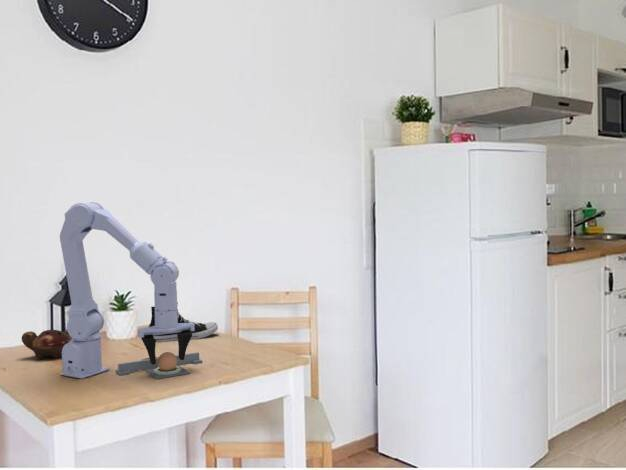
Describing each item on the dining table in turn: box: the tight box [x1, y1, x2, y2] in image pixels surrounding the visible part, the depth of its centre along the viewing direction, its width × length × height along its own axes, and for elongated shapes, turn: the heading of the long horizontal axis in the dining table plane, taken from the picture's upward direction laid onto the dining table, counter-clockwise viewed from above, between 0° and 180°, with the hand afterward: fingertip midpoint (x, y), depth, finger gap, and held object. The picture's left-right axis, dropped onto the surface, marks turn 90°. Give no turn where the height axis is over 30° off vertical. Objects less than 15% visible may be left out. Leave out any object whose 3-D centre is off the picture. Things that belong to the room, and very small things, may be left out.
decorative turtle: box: [21, 329, 72, 361], centre depth 188 cm, size 10×15×8 cm, turn 115°
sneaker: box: [148, 301, 219, 343], centre depth 211 cm, size 8×22×12 cm, turn 105°
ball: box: [157, 351, 177, 372], centre depth 171 cm, size 5×5×5 cm
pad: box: [144, 365, 191, 380], centre depth 171 cm, size 9×9×1 cm
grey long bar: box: [115, 351, 203, 376], centre depth 176 cm, size 22×4×2 cm, turn 122°
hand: (167, 361), depth 171 cm, fingers open, 7 cm apart
